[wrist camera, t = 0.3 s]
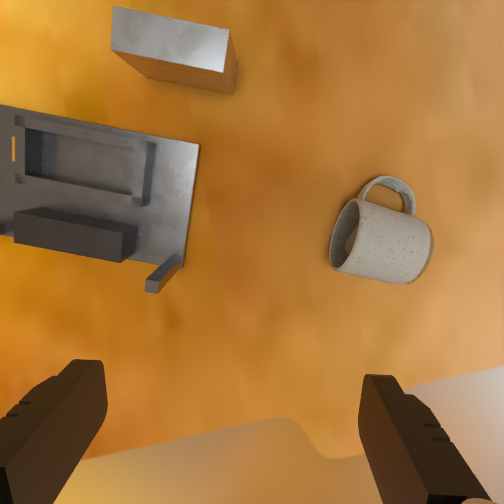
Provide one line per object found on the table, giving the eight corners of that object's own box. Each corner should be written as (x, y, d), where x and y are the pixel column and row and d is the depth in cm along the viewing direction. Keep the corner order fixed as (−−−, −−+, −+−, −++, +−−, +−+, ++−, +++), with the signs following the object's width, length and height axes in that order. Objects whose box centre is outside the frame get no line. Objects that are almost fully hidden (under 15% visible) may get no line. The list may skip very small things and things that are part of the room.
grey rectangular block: (149, 45, 32) (113, 5, 24) (237, 63, 32) (229, 29, 24) (146, 77, 33) (110, 49, 25) (232, 95, 33) (222, 72, 25)
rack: (-3, 104, 34) (-95, 82, 25) (200, 145, 34) (179, 137, 25) (0, 231, 37) (-80, 250, 29) (183, 266, 38) (159, 296, 29)
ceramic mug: (390, 275, 37) (423, 301, 30) (323, 259, 37) (339, 280, 29) (423, 186, 35) (468, 189, 27) (351, 167, 34) (376, 165, 27)
